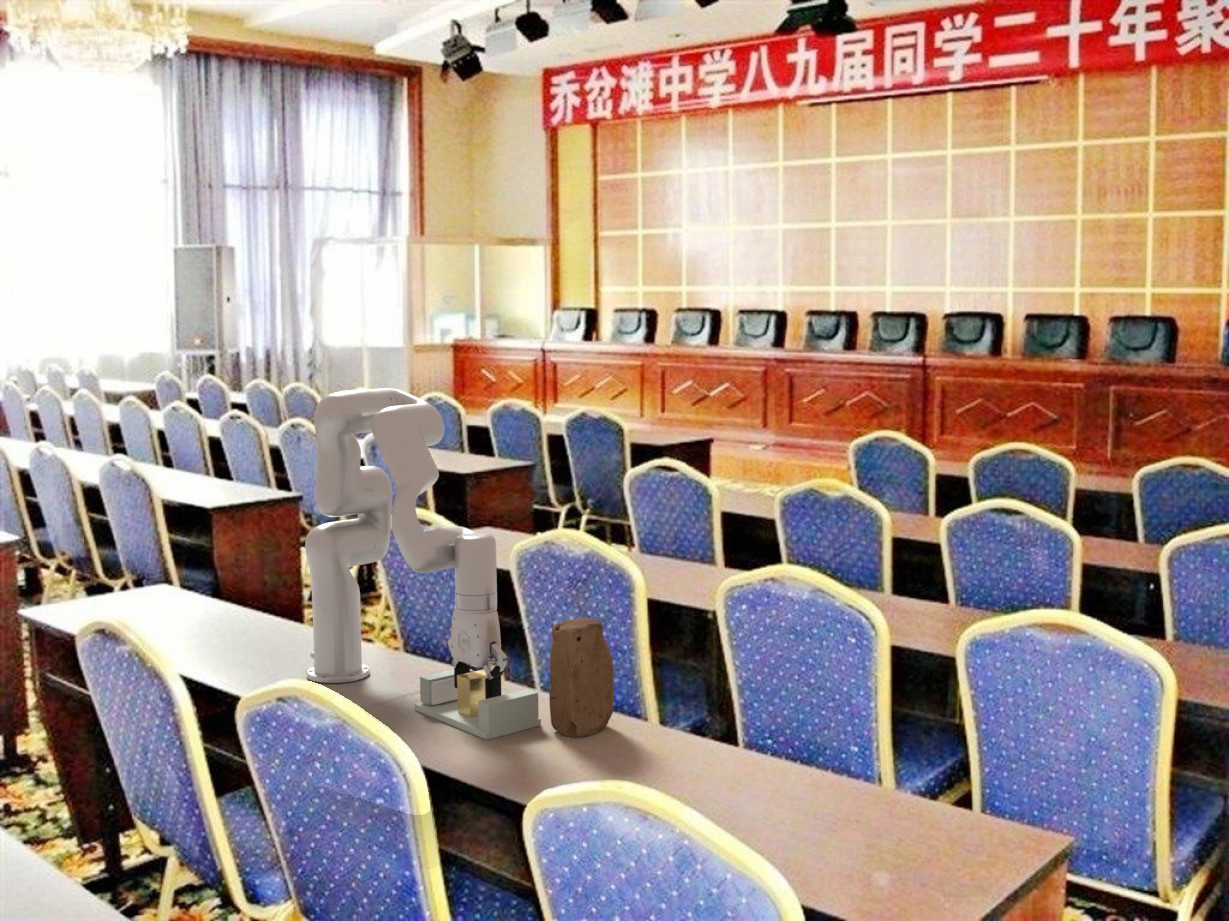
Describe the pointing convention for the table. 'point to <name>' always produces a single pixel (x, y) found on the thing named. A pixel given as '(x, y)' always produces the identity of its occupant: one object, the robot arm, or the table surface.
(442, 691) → the sliding jaw
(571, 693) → the block
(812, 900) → the table surface
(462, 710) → the tan rectangular workpiece
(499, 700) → the vise body
